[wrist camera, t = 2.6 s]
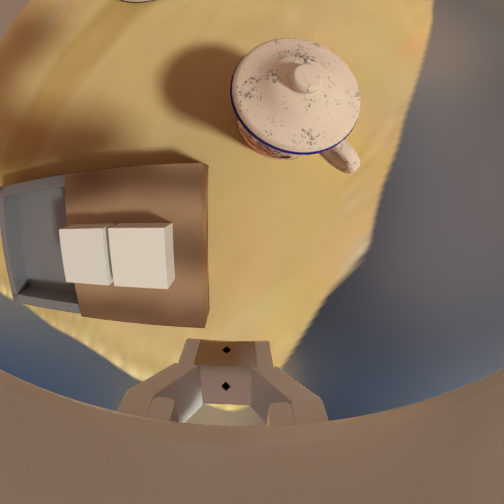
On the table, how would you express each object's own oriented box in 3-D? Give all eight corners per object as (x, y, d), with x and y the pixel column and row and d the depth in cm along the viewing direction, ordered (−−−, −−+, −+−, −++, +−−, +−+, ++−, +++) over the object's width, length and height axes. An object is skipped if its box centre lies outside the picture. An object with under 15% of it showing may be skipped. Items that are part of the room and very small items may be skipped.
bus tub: (15, 185, 24) (-2, 187, 21) (85, 173, 24) (67, 173, 21) (28, 292, 28) (14, 301, 25) (97, 301, 28) (83, 314, 25)
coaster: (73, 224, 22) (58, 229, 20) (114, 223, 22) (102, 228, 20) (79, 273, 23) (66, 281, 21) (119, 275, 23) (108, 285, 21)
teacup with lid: (215, 118, 24) (194, 75, 13) (279, 62, 22) (300, -2, 11) (303, 202, 26) (344, 220, 15) (362, 143, 25) (430, 128, 13)
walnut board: (85, 173, 24) (64, 174, 21) (208, 165, 25) (201, 162, 21) (97, 301, 28) (81, 316, 24) (209, 309, 29) (204, 328, 25)
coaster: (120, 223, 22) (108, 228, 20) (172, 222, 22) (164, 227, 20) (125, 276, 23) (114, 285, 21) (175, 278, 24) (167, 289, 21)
